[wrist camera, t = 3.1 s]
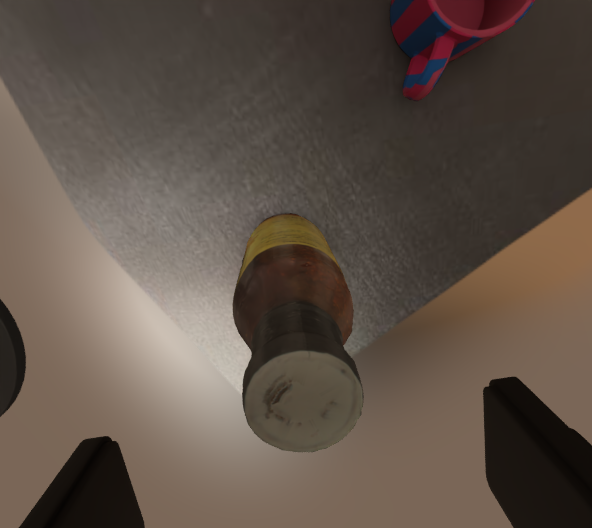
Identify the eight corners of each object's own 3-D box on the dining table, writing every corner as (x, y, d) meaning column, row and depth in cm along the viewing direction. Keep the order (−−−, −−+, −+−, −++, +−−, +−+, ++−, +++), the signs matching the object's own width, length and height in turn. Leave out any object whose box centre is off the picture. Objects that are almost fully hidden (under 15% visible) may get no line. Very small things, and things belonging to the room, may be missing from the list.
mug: (503, -8, 27) (572, -60, 21) (423, 124, 30) (463, 115, 23) (424, -65, 26) (471, -139, 20) (347, 76, 28) (366, 53, 22)
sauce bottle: (234, 232, 31) (156, 352, 12) (305, 197, 31) (341, 264, 12) (272, 301, 33) (255, 504, 14) (339, 269, 32) (421, 434, 13)
